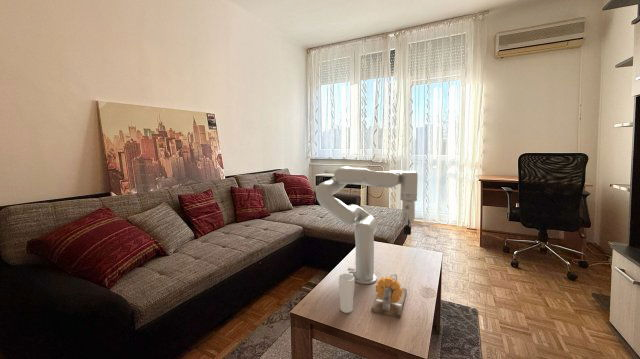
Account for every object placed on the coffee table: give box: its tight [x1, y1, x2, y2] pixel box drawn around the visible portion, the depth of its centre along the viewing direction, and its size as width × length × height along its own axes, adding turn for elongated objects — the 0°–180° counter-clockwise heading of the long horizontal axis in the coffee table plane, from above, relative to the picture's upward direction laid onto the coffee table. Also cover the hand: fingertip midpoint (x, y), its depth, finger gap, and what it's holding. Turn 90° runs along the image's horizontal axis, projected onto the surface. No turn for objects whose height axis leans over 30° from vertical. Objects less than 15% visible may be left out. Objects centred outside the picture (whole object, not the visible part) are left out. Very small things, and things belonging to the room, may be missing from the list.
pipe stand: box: [370, 272, 407, 319], centre depth 125 cm, size 12×22×9 cm, turn 156°
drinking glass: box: [338, 273, 356, 314], centre depth 119 cm, size 7×7×15 cm
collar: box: [375, 276, 403, 304], centre depth 121 cm, size 11×2×11 cm, turn 66°
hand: (407, 234), depth 135 cm, fingers closed
